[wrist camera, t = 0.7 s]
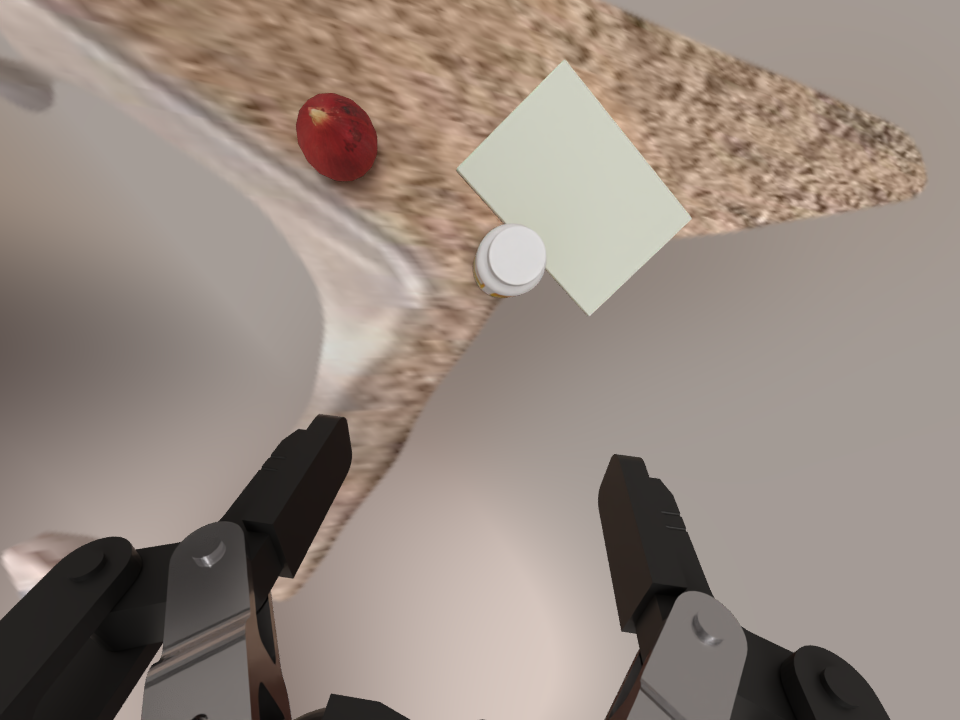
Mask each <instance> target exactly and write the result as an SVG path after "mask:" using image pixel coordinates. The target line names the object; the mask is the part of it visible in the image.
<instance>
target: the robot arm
mask: <svg viewBox="0 0 960 720" xmlns="http://www.w3.org/2000/svg"><path fill="white" fill-rule="evenodd" d="M351 460H352V449H351V443H350V437H349V430H348V424H347V420H346V418H345V417H338V416H331V415H323V414H319V415H318V416H316V417H315V419H314V420H313V422H312V423H311V424H310V426H309V427H308V428H307V430H302V429H298V430H296V431H295V432H293V433H292V434H291V435H289V436H288V437H286V438H285V439H284V440H282V441H281V443H280V444H279V445H278V446H277V448H276V449H275V450H274V452H273V453H272V454H271V457H270V458H268V459H267V461H266V462H265V463H264V464H263V466H262V469H261V470H259V471H258V472H257V474H256V475H255V476H254V477H253V479H252V480H251V481H250V483H249V484H248V485H247V486H246V488H245V489H244V490H243V492H242V493H241V494H240V495H239V497H238V498H237V500H236V501H235V502H234V503H233V504H232V506H231V507H230V508H229V510H228V511H227V512H226V514H225V515H224V516H223V517H222V518H221V519H220V520H219V521H218V522H215V523H211V524H208V525H206V526H203V527H201V528H199V529H197V530H196V531H194V532H193V533H191V534H190V535H188V536H187V537H186V538H185V539H184V540H183V541H182V542H179V543H174V544H167V545H161V546H155V547H148V548H142V549H136V550H135V548H134V547H133V546H132V544H131V543H130V542H129V541H128V540H127V539H125V538H122V537H106V538H102V539H98V540H95V541H92V542H90V543H88V544H85V545H83V546H81V547H80V548H78V549H76V550H74V551H73V552H71V553H70V554H68V555H67V556H66V557H64V558H63V559H62V560H61V561H60V562H59V563H58V564H56V565H55V566H54V567H53V568H52V569H51V570H50V571H49V572H48V573H47V574H46V575H45V576H44V577H43V578H42V579H41V580H40V581H39V582H38V583H37V584H36V585H35V586H34V587H33V588H32V589H31V590H30V591H29V592H28V593H27V594H26V595H25V596H24V597H23V598H22V599H21V600H20V601H19V602H18V603H17V604H16V605H15V606H14V607H13V608H12V609H11V610H10V611H9V612H8V613H7V614H6V615H5V616H4V617H3V618H2V619H1V620H0V720H113V719H114V718H115V716H116V715H117V713H118V712H119V710H120V709H121V707H122V705H123V704H124V702H125V701H126V699H127V698H128V696H129V695H130V693H131V692H132V689H133V688H134V687H135V685H136V684H137V682H138V681H139V679H140V678H141V676H142V674H143V673H144V671H145V670H146V668H147V667H148V665H149V664H150V662H151V661H152V659H153V658H154V656H155V654H156V653H157V651H158V650H159V648H160V647H161V645H162V644H163V651H162V655H161V658H160V660H159V661H158V662H157V663H155V664H153V665H152V666H151V668H150V669H149V671H148V674H147V677H146V682H145V687H144V696H143V706H142V715H141V720H292V717H291V710H290V705H289V698H288V693H287V689H286V685H285V682H284V679H283V675H282V670H281V664H280V657H279V649H278V643H277V642H278V641H277V634H276V627H275V619H274V611H273V603H272V595H271V589H272V587H273V585H274V584H275V582H276V580H277V578H278V576H280V577H286V578H294V576H295V574H296V572H297V571H298V569H299V567H300V565H301V563H302V561H303V559H304V557H305V555H306V553H307V551H308V549H309V547H310V545H311V543H312V541H313V539H314V538H315V536H316V534H317V532H318V530H319V528H320V526H321V524H322V522H323V520H324V518H325V516H326V514H327V512H328V510H329V508H330V506H331V504H332V503H333V501H334V499H335V497H336V495H337V493H338V491H339V489H340V487H341V485H342V483H343V481H344V479H345V477H346V475H347V473H348V471H349V468H350V465H351ZM598 507H599V513H600V518H601V524H602V529H603V535H604V540H605V546H606V551H607V556H608V561H609V567H610V572H611V578H612V583H613V589H614V594H615V599H616V605H617V610H618V616H619V621H620V626H621V631H622V632H629V633H635V634H637V638H638V643H639V648H640V649H639V650H638V652H637V654H636V656H635V658H634V660H633V662H632V664H631V666H630V668H629V670H628V672H627V674H626V676H625V679H624V681H623V683H622V685H621V687H620V689H619V691H618V693H617V695H616V697H615V699H614V701H613V703H612V705H611V707H610V709H609V712H608V714H607V716H606V718H605V720H890V718H889V716H888V715H887V713H886V711H885V709H884V708H883V706H882V704H881V702H880V701H879V699H878V697H877V696H876V694H875V692H874V691H873V689H872V688H871V687H870V685H869V684H868V683H867V681H866V680H865V679H864V678H863V677H862V676H861V675H860V674H859V673H858V672H857V671H856V670H855V669H854V668H853V667H852V666H851V665H850V664H848V663H847V662H846V661H845V660H843V659H842V658H840V657H839V656H837V655H836V654H834V653H832V652H830V651H828V650H826V649H824V648H821V647H818V646H811V645H810V646H804V647H801V648H799V649H798V650H797V651H796V652H794V653H793V652H791V651H789V650H787V649H785V648H783V647H780V646H778V645H776V644H774V643H772V642H770V641H768V640H766V639H763V638H762V637H759V636H757V635H755V634H753V633H751V632H750V631H748V630H746V629H745V628H743V627H742V626H740V624H739V622H738V621H737V619H736V618H735V617H734V615H733V614H732V613H731V612H730V611H729V610H728V609H727V608H726V607H725V606H724V605H723V604H722V603H720V602H719V601H718V600H716V599H715V598H714V596H713V595H712V592H711V590H710V588H709V586H708V583H707V581H706V578H705V575H704V573H703V570H702V568H701V565H700V563H699V560H698V558H697V555H696V552H695V550H694V548H693V545H692V542H691V540H690V537H689V535H688V532H686V527H685V525H684V522H683V519H682V517H680V512H679V509H678V507H677V504H676V502H675V499H674V496H673V495H672V493H671V492H670V491H669V490H668V489H667V487H666V486H665V485H664V484H663V483H662V481H661V480H660V479H657V478H650V477H649V475H648V472H647V470H646V466H645V463H644V461H643V459H642V458H640V457H632V456H625V455H617V454H614V455H613V456H612V457H611V460H610V462H609V465H608V468H607V470H606V473H605V475H604V478H603V481H602V483H601V486H600V489H599V495H598ZM294 720H410V719H408V718H406V717H405V716H403V715H401V714H399V713H398V712H396V711H394V710H393V709H391V708H389V707H388V706H386V705H384V704H382V703H381V702H377V701H372V700H365V699H359V698H354V697H348V696H342V695H336V694H331V695H330V698H329V701H328V704H327V706H326V708H322V709H318V710H315V711H312V712H309V713H306V714H304V715H302V716H300V717H298V718H296V719H294Z"/></svg>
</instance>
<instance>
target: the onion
mask: <svg viewBox="0 0 960 720" xmlns="http://www.w3.org/2000/svg"><path fill="white" fill-rule="evenodd" d="M296 130H297V138H298V144H299V146H300V148H301V150H302V152H303V153H304V155H305V157H306V159H307V161H308V162H309V163H310V164H311V165H312V166H313V167H314V168H315V169H316V170H317V171H318V172H319V173H320V174H322V175H324V176H327V177H329V178H331V179H333V180H336V181H353V180H355V179H357V178H360V177H362V176H364V175H365V174H366V172H367V171H368V170H369V169H370V168H371V167H372V165H373V163H374V160H375V158H376V155H377V134H376V131H375V129H374V127H373V125H372V122H371V120H370V118H369V116H368V115H367V113H366V112H365V111H364V110H363V109H362V108H361V107H359V106H358V105H357V104H356V103H355V102H354V101H353V100H351V99H349V98H346V97H343V96H340V95H337V94H334V93H325V94H318V95H316V96H314V97H312V98H311V99H309V100H307V102H306V103H305V104H304V105H303V106H302V108H301V109H300V110H299V114H298V118H297V123H296Z"/></svg>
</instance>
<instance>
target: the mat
mask: <svg viewBox="0 0 960 720" xmlns="http://www.w3.org/2000/svg"><path fill="white" fill-rule="evenodd" d="M457 172H458V173H459V174H460V175H461V176H462V177H463V178H464V180H465V181H466V182H467V183H468V184H469V185H470V186H471V187H472V188H473V190H474V191H475V192H476V193H477V194H478V195H479V196H480V197H481V198H482V200H483V201H484V202H485V203H486V204H487V205H488V206H489V207H490V208H491V210H492V211H493V212H494V213H495V214H496V215H497V216H498V217H499V218H500V220H501V221H502V222H503V223H504V224H510V223H513V224H520V225H524V226H526V227H528V228H530V229H532V230H533V231H535V232H536V233H537V234H538V235H539V236H540V237H541V239H542V241H543V243H544V245H545V249H546V259H547V261H546V268H545V270H546V271H547V272H548V273H549V274H550V275H551V276H552V277H553V279H555V281H556V282H557V283H558V284H559V285H560V286H561V287H562V288H563V290H564V291H565V292H566V293H567V294H568V295H569V296H570V297H571V298H572V300H573V301H574V302H575V303H576V304H577V305H578V306H579V307H580V308H581V309H582V311H583V312H584V313H585V314H586V315H587V316H590V315H591V314H592V313H593V312H594V311H595V310H597V309H598V308H599V307H600V306H601V304H603V303H604V302H605V301H606V300H607V299H608V298H609V297H610V296H611V295H612V294H613V293H614V292H615V291H616V290H618V289H619V288H620V287H621V286H622V285H623V284H624V283H625V282H626V281H627V280H628V279H629V278H630V277H631V276H632V275H633V274H634V273H635V272H636V271H637V270H639V269H640V268H641V267H642V266H643V265H644V264H645V263H646V262H647V261H648V260H649V259H650V258H651V257H652V256H653V255H654V254H655V253H656V252H657V251H658V250H660V249H661V248H662V247H663V246H664V245H665V244H666V243H667V242H668V241H669V240H670V239H671V238H672V237H673V236H674V235H675V234H676V233H677V232H678V231H679V230H681V229H682V228H683V227H684V226H685V225H686V224H687V223H688V222H689V221H690V220H691V219H692V218H691V217H690V215H689V214H688V213H687V212H686V210H685V209H684V208H683V207H682V205H681V204H680V203H679V202H678V200H677V199H676V198H675V196H674V195H673V194H672V193H671V191H670V190H669V189H668V188H667V186H666V185H665V184H664V183H663V181H662V180H661V179H660V178H659V176H658V175H657V174H656V173H655V171H654V170H653V169H652V168H651V166H650V165H649V164H648V163H647V161H646V160H645V159H644V158H643V156H642V155H641V154H640V153H639V151H638V150H637V149H636V148H635V146H634V145H633V144H632V143H631V141H630V140H629V139H628V138H627V136H626V135H625V134H624V133H623V131H622V130H621V129H620V128H619V126H618V125H617V124H616V123H615V121H614V120H613V119H612V118H611V116H610V115H609V114H608V113H607V111H606V110H605V109H604V108H603V106H602V105H601V104H600V103H599V101H598V100H597V99H596V98H595V96H594V95H593V94H592V93H591V91H590V90H589V89H588V88H587V86H586V85H585V84H584V83H583V81H582V80H581V79H580V78H579V76H578V75H577V74H576V73H575V71H574V70H573V69H572V68H571V66H570V65H569V64H568V63H567V61H566V60H565V59H564V60H563V61H562V62H561V63H560V64H559V65H558V66H557V67H556V68H555V69H554V70H553V71H552V72H551V73H550V74H549V75H548V76H547V77H546V78H545V79H544V80H543V81H542V82H541V83H540V84H539V85H538V86H537V88H536V89H535V90H534V91H533V92H532V93H531V94H530V95H529V96H528V97H527V98H526V99H525V100H524V101H523V102H522V103H521V104H520V105H519V106H518V107H517V108H516V109H515V110H514V111H513V112H512V113H511V114H510V115H509V116H508V117H507V118H506V119H505V120H504V121H503V122H502V123H501V124H500V125H499V126H498V127H497V128H496V129H495V130H494V131H493V132H492V133H491V134H490V135H489V136H488V137H487V138H486V139H485V140H484V141H483V142H482V143H481V144H480V145H479V146H478V147H477V148H476V149H475V150H474V151H473V152H472V153H471V154H470V155H469V156H468V157H467V158H466V159H465V160H464V161H463V162H462V163H461V164H460V166H459V167H458V168H457Z"/></svg>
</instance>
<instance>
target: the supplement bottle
mask: <svg viewBox="0 0 960 720" xmlns="http://www.w3.org/2000/svg"><path fill="white" fill-rule="evenodd" d="M546 261H547V259H546V249H545V245H544V243H543V241H542V239H541V237H540V236H539V235H538V234H537V233H536V232H535V231H533V230H532V229H530V228H528V227H526V226H524V225H520V224H513V223H510V224H504V225H500V226H498V227H496V228H494V229H493V230H491V231H490V232H489V233H488V234H487V235H486V236H485V237H484V238H483V240H482V241H481V243H480V245H479V247H478V250H477V253H476V256H475V258H474V262H473V274H474V278H475V281H476V283H477V284H478V286H479V287H480V288H481V289H482V290H483V291H484V292H485V293H486V294H488V295H490V296H493V297H497V298H507V297H514V296H519V295H522V294H524V293H527V292H528V291H530V290H531V289H533V288H534V287H535V286H536V285H537V284H538V283H539V281H540V280H541V278H542V276H543V274H544V271H545V268H546Z"/></svg>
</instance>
